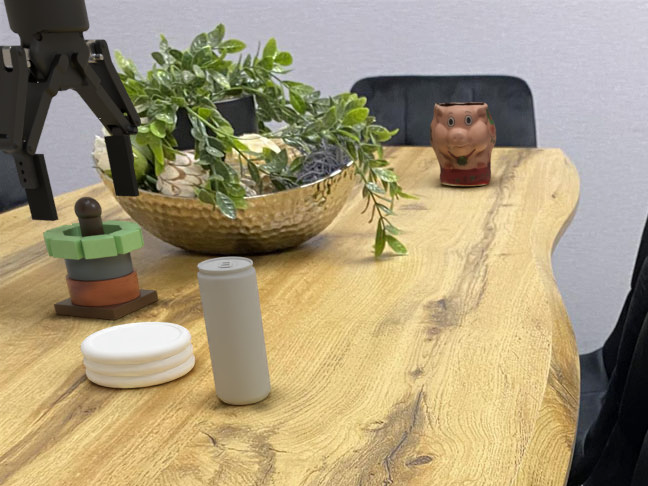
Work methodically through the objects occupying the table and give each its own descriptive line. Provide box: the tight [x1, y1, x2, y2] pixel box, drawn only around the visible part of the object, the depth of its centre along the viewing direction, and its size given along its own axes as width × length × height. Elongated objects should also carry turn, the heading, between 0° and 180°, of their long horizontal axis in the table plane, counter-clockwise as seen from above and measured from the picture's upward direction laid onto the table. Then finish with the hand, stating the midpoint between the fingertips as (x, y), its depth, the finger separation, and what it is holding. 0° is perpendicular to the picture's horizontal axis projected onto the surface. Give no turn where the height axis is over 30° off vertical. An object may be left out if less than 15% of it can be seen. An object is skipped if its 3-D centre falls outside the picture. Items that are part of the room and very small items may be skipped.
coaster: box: [80, 321, 196, 389], centre depth 92 cm, size 10×10×4 cm
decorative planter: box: [429, 101, 497, 187], centre depth 177 cm, size 20×12×14 cm, turn 5°
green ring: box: [42, 219, 145, 260], centre depth 108 cm, size 10×10×2 cm
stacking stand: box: [53, 196, 159, 321], centre depth 109 cm, size 8×8×12 cm
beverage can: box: [196, 256, 272, 406], centre depth 84 cm, size 5×5×12 cm
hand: (88, 207), depth 106 cm, fingers open, 13 cm apart
